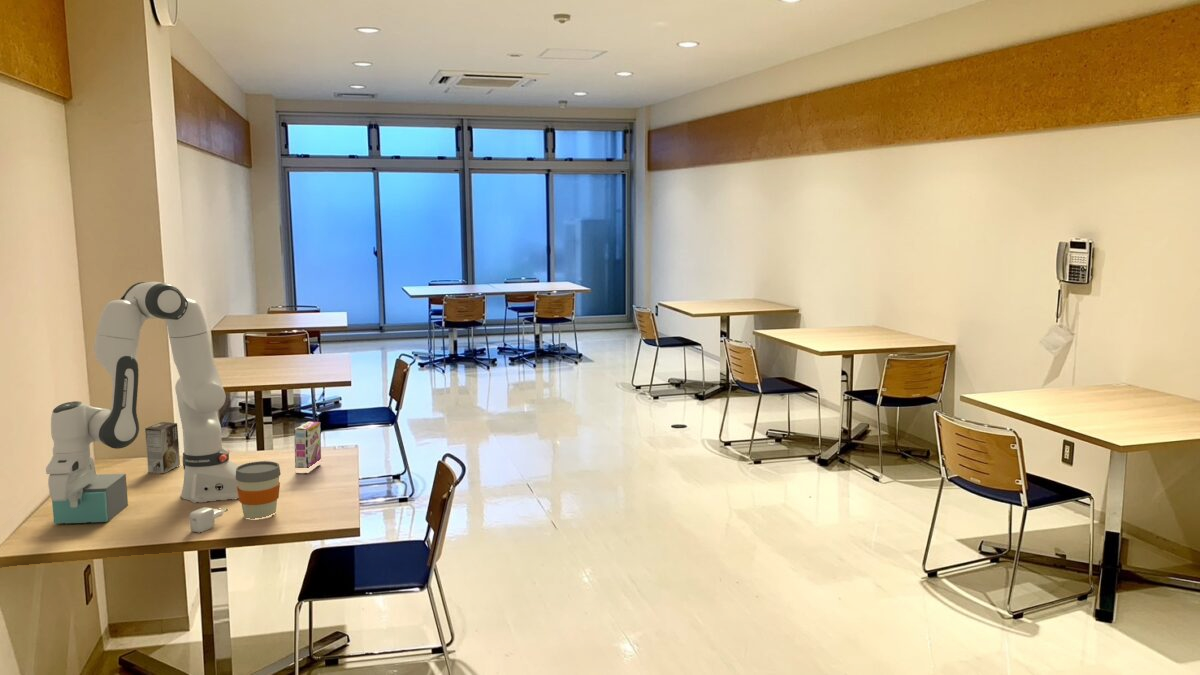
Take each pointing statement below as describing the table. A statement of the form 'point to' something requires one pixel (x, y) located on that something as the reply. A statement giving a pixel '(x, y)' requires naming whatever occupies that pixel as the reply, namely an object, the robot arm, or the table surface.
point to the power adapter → (204, 518)
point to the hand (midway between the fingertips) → (76, 505)
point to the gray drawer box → (111, 491)
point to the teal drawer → (82, 509)
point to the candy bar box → (307, 444)
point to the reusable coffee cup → (258, 488)
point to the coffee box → (162, 447)
